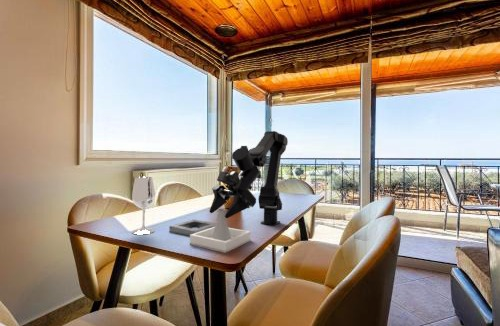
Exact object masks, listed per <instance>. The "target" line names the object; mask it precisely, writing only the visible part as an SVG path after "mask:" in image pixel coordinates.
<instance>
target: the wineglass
mask: <svg viewBox="0 0 500 326" xmlns="http://www.w3.org/2000/svg"><path fill="white" fill-rule="evenodd" d="M131 199H132V203H133V204H134V205H135V206H136V207H138V208H139V209H141V211H142V212H141V213H142V222H141V223H142V225H141V228H137V229H134V230H132V232H131V233H132V234H133V235H148V234H149V235H150V234H152V233H154V232H155V229H153V228H151V227H150V228H149V227H146V225H145V213H146V209H147V208H150V206H152V205H153V204H154V202H155V199H156V191H155V185H154V181H153V177H151V176H137V177H135V180H134V184H133V188H132V193H131Z"/></svg>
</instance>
